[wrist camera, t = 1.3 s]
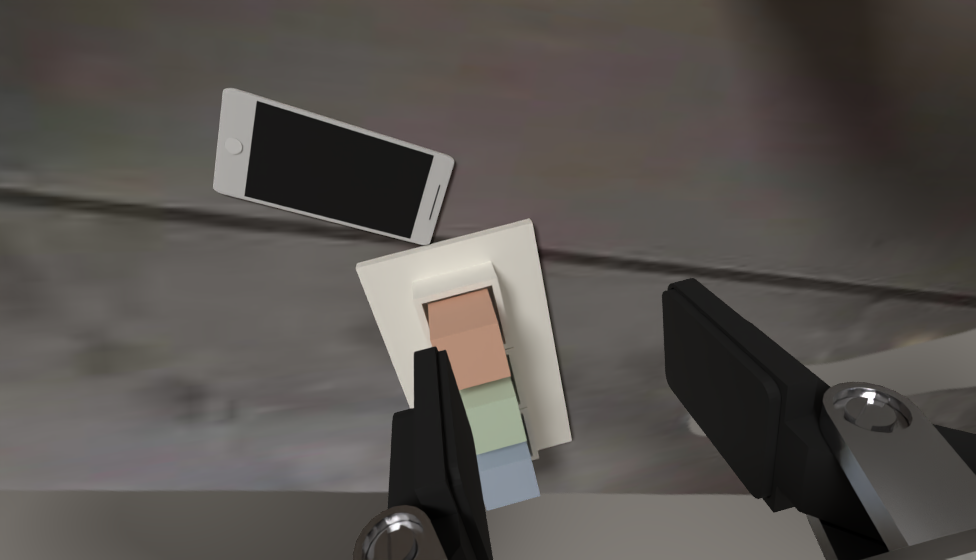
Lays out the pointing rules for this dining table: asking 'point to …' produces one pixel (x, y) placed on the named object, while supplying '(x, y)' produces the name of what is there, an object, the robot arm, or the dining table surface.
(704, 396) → the robot arm
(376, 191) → the smartphone
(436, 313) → the terracotta button
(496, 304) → the board
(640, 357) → the dining table surface
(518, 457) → the slate button
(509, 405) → the sage button
